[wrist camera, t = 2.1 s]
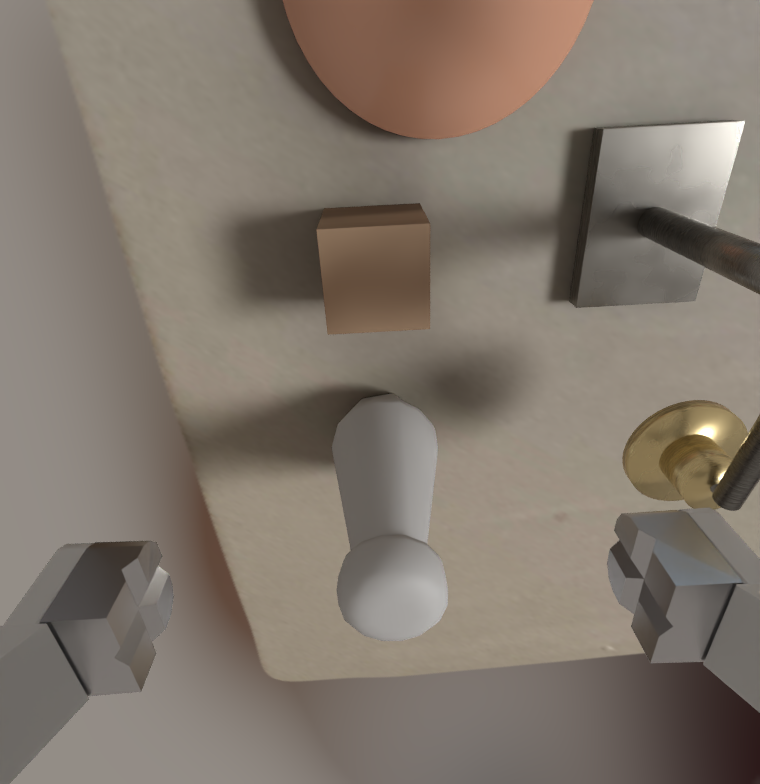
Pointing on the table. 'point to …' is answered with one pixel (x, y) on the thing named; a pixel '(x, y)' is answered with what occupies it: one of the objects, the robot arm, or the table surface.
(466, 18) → the dish
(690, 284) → the balance
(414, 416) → the salt shaker
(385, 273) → the block
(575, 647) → the table surface
